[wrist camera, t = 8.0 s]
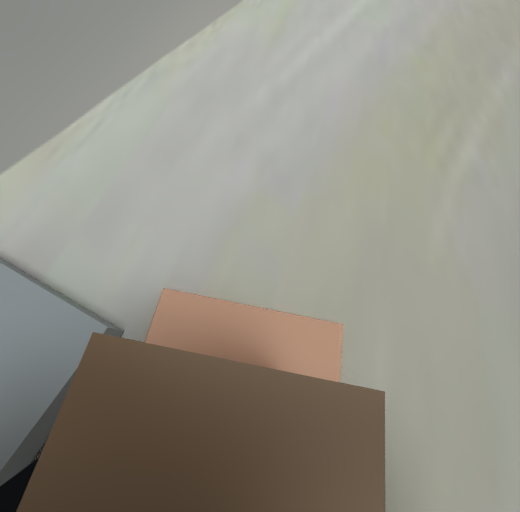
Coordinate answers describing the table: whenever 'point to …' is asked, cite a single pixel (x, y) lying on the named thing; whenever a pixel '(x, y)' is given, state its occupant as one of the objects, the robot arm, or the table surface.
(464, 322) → the table surface
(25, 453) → the grey ledge
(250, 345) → the terracotta mat
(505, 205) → the table surface
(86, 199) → the table surface
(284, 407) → the walnut block
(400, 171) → the table surface
